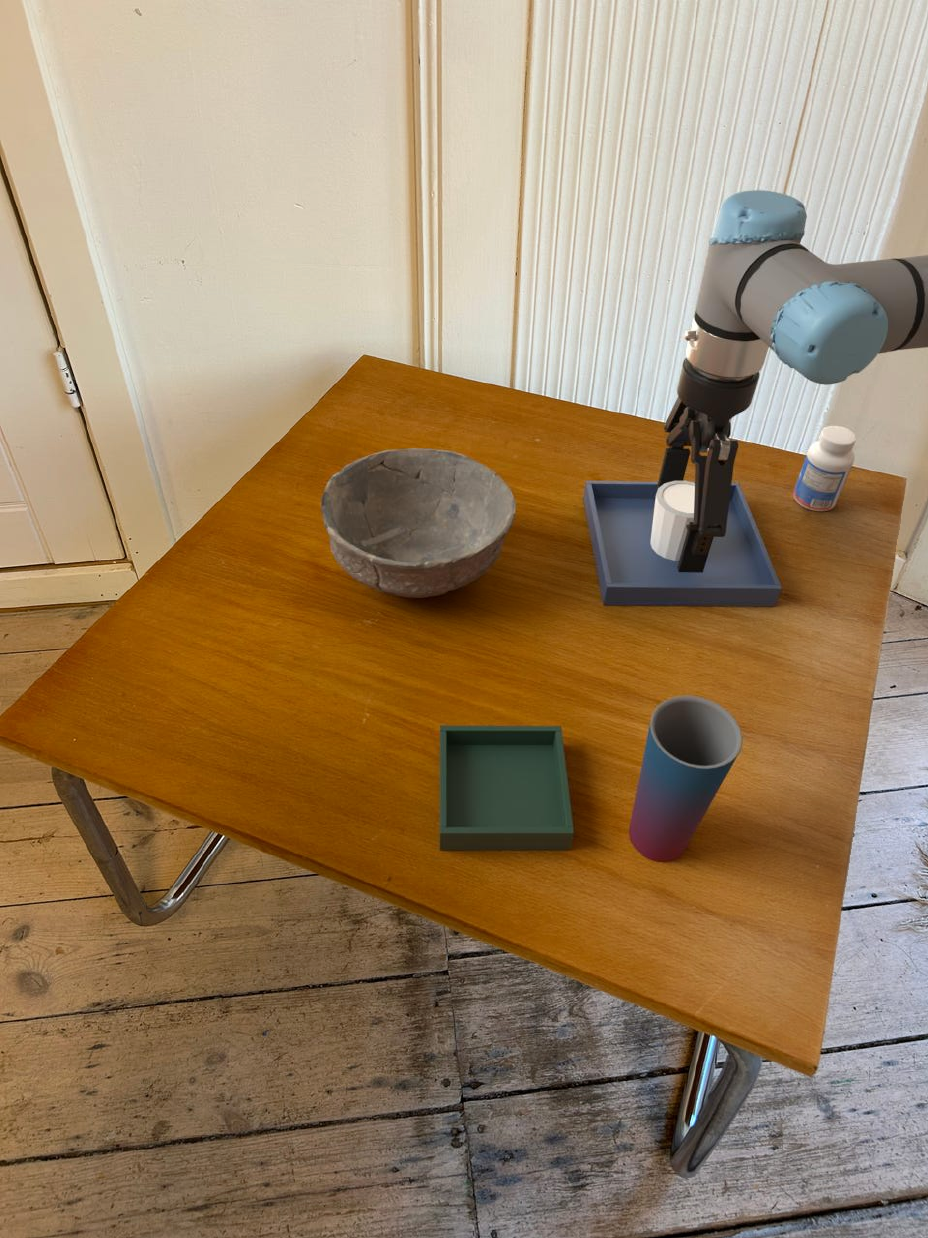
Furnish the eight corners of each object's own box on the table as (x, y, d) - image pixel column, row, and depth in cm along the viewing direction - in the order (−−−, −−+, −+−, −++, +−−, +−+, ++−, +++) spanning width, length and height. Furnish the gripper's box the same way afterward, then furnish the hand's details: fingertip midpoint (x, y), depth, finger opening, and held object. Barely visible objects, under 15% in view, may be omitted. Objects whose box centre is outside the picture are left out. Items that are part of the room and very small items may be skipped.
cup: (708, 824, 76) (754, 719, 65) (681, 886, 71) (725, 783, 61) (636, 790, 78) (669, 682, 67) (606, 847, 74) (636, 742, 63)
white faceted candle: (704, 568, 99) (719, 520, 94) (644, 560, 99) (656, 512, 94) (702, 530, 104) (716, 483, 99) (645, 523, 104) (656, 476, 99)
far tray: (775, 606, 95) (782, 588, 93) (603, 605, 95) (606, 586, 93) (733, 500, 109) (739, 482, 107) (583, 498, 108) (585, 480, 106)
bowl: (536, 543, 102) (544, 474, 95) (463, 659, 89) (466, 589, 81) (382, 495, 108) (379, 426, 100) (291, 597, 94) (280, 526, 87)
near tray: (570, 850, 74) (574, 833, 72) (439, 850, 73) (439, 833, 71) (558, 743, 81) (561, 725, 79) (439, 743, 81) (439, 725, 79)
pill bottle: (808, 481, 112) (833, 416, 105) (844, 501, 109) (872, 436, 103) (783, 497, 110) (807, 431, 103) (819, 518, 107) (846, 452, 100)
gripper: (661, 305, 93) (629, 467, 109) (712, 433, 76) (665, 605, 91) (730, 306, 94) (688, 468, 109) (796, 434, 76) (735, 606, 91)
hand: (678, 531), depth 100 cm, fingers open, 13 cm apart
